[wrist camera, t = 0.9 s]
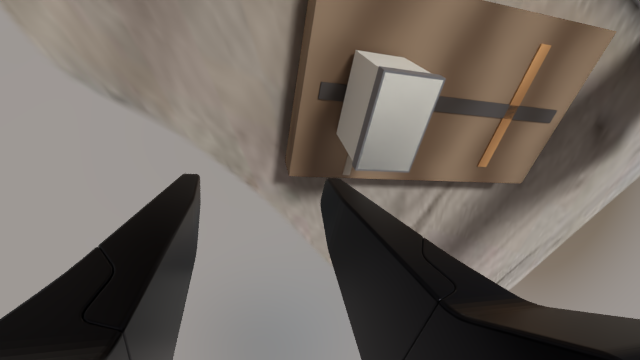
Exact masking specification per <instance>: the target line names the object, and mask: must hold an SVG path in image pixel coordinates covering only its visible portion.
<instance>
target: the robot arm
mask: <svg viewBox="0 0 640 360" xmlns="http://www.w3.org/2000/svg"><path fill="white" fill-rule="evenodd" d="M321 212H322V218H323V223H324V229H325V235H326V241H327V246H328V250H329V254H330V258H331V261H332V264H333V267H334V271H335V274H336V277H337V280H338V284H339V287H340V290H341V293H342V297H343V300H344V304H345V306H346V310H347V313H348V317H349V320H350V323H351V326H352V330H353V333H354V336H355V340H356V343H357V346H358V349H359V353H360V356H361V359H362V360H640V319H633V318H625V317H618V316H610V315H603V314H595V313H588V312H580V311H572V310H565V309H558V308H550V307H545V306H541V305H537V304H535V303H532V302H529V301H526V300H524V299H522V298H520V297H518V296H516V295H515V294H513V293H511V292H509V291H508V290H506V289H504V288H503V287H501V286H499V285H498V284H496V283H495V282H493V281H491V280H490V279H488V278H486V277H485V276H483V275H481V274H480V273H478V272H476V271H475V270H473V269H471V268H470V267H468V266H466V265H465V264H463V263H462V262H460V261H458V260H457V259H455V258H454V257H452V256H450V255H449V254H447V253H446V252H444V251H443V250H441V249H440V248H438V247H437V246H436V245H434V244H433V243H431V242H430V241H428V240H427V239H426V238H423V237H422V236H421V235H420V234H418V233H417V232H415V231H414V230H413V229H411V228H410V227H408V226H407V225H405V224H404V223H403V222H401V221H400V220H398V219H397V218H395V217H394V216H392V215H391V214H390V213H388V212H387V211H385V210H384V209H382V208H381V207H380V206H378V205H377V204H375V203H374V202H372V201H371V200H370V199H368V198H367V197H365V196H364V195H362V194H361V193H359V192H358V191H357V190H355V189H354V188H352V187H351V186H349V185H348V184H347V183H345V182H344V181H342V180H341V179H337V178H328V179H327V180H326V181H325V184H324V189H323V193H322V197H321ZM199 215H200V176H199V175H198V174H183V175H182V176H180V177H179V178H178V179H177V180H175V181H174V182H173V183H172V184H171V185H170V186H169V187H167V188H166V189H165V190H164V191H163V192H161V193H160V194H159V195H158V196H156V197H155V198H154V199H153V200H152V201H151V202H149V204H147V205H146V206H145V207H143V208H142V209H141V210H140V211H139V212H138V213H136V214H135V215H134V216H133V217H132V218H130V219H129V220H128V221H127V222H126V223H125V224H123V225H122V226H121V227H120V228H119V229H117V230H116V231H115V232H114V233H113V234H112V235H110V236H109V237H108V238H107V239H105V240H104V241H103V242H102V243H101V244H100V245H99V246H98V247H96V248H95V249H94V250H92V251H91V252H90V253H89V254H87V255H86V256H85V257H84V258H83V259H82V260H80V261H79V262H78V263H76V264H75V265H74V266H73V267H71V268H70V269H69V270H68V271H67V272H65V273H64V274H63V275H61V276H60V277H59V278H57V279H56V280H55V281H53V282H52V283H50V284H49V285H48V286H46V287H45V288H44V289H42V290H41V291H40V292H38V293H37V294H35V295H34V296H33V297H31V298H30V299H28V300H27V301H25V302H24V303H23V304H21V305H20V306H18V307H17V308H16V309H14V310H13V311H11V312H10V313H9V314H7V315H5V316H4V317H3V318H1V319H0V360H173V356H174V351H175V347H176V342H177V338H178V333H179V329H180V324H181V320H182V316H183V311H184V307H185V302H186V297H187V293H188V289H189V284H190V280H191V275H192V271H193V266H194V262H195V257H196V250H197V240H198V228H199Z"/></svg>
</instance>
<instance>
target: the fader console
mask: <svg viewBox="0 0 640 360" xmlns="http://www.w3.org/2000/svg"><path fill="white" fill-rule="evenodd" d="M615 33H616V31H612V30H608V29H603V28H599V27H595V26H591V25H586V24H582V23H578V22H573V21H569V20H565V19H561V18H556V17H552V16H548V15H543V14H539V13H535V12H531V11H526V10H522V9H518V8H513V7H509V6H505V5H501V4H496V3H492V2H488V1H483V0H308V4H307V11H306V18H305V25H304V32H303V39H302V46H301V53H300V60H299V67H298V74H297V81H296V88H295V95H294V102H293V109H292V115H291V122H290V129H289V136H288V143H287V150H286V157H285V163H286V167H287V170H288V174H289V176H301V177H333V178H364V179H396V180H427V181H458V182H490V183H522V181H523V180H524V178H525V176H526V175H527V173H528V172H529V170H530V169H531V167H532V165H533V164H534V162H535V161H536V159H537V157H538V156H539V154H540V153H541V151H542V149H543V148H544V146H545V145H546V143H547V141H548V140H549V138H550V137H551V135H552V134H553V132H554V130H555V129H556V127H557V126H558V124H559V122H560V121H561V119H562V118H563V116H564V114H565V113H566V111H567V110H568V108H569V107H570V105H571V103H572V102H573V100H574V99H575V97H576V95H577V94H578V92H579V91H580V89H581V87H582V86H583V84H584V83H585V81H586V79H587V78H588V76H589V75H590V73H591V72H592V70H593V68H594V67H595V65H596V64H597V62H598V60H599V59H600V57H601V56H602V54H603V52H604V51H605V49H606V48H607V46H608V45H609V43H610V41H611V40H612V38H613V37H614V35H615ZM355 50H359V51H365V52H372V53H378V54H385V55H391V56H397V57H404V58H406V59H408V60H409V61H411V62H413V63H414V64H416V65H418V66H420V67H421V68H423V69H425V70H426V71H428V72H430V73H432V74H438V75H441V76H443V77H444V78H446V80H445V83H444V85H443V88H442V90H441V93H440V95H439V98H438V101H437V103H436V106H435V108H434V111H433V113H432V116H431V118H430V121H429V123H428V126H427V128H426V131H425V134H424V136H423V139H422V141H421V144H420V146H419V149H418V151H417V154H416V156H415V159H414V162H413V164H412V167H411V169H410V172H409V173H403V172H378V171H355V169H354V168H353V166H352V162H353V161H352V159H351V157H350V156H349V154H348V152H347V151H346V149H345V147H344V145H343V144H342V142H341V140H340V139H339V137H338V135H337V134H336V133H337V128H338V124H339V120H340V115H341V111H342V107H343V102H344V98H345V94H346V89H347V85H348V81H349V76H350V72H351V68H352V63H353V59H354V55H355Z"/></svg>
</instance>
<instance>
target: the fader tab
mask: <svg viewBox="0 0 640 360" xmlns="http://www.w3.org/2000/svg"><path fill="white" fill-rule="evenodd" d="M445 80H446V78H444V77H443V76H441V75H438V74H432V73H430V72H428V71H426V70H425V69H423V68H421V67H420V66H418V65H416V64H414V63H413V62H411V61H409V60H408V59H406V58H404V57H397V56H391V55H385V54H378V53H372V52H365V51H359V50H355V55H354V59H353V63H352V68H351V72H350V76H349V81H348V85H347V89H346V94H345V98H344V102H343V107H342V111H341V115H340V120H339V124H338V128H337V133H336V134H337V135H338V137H339V139H340V140H341V142H342V144H343V145H344V147H345V149H346V151H347V152H348V154H349V156H350V157H351V159H352V161H353V162H352V166H353V168H354V169H355V171H378V172H403V173H409V172H410V169H411V167H412V164H413V162H414V159H415V156H416V154H417V151H418V149H419V146H420V144H421V141H422V139H423V136H424V134H425V131H426V128H427V126H428V123H429V121H430V118H431V116H432V113H433V111H434V108H435V106H436V103H437V101H438V98H439V95H440V93H441V90H442V88H443V85H444V83H445Z"/></svg>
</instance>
